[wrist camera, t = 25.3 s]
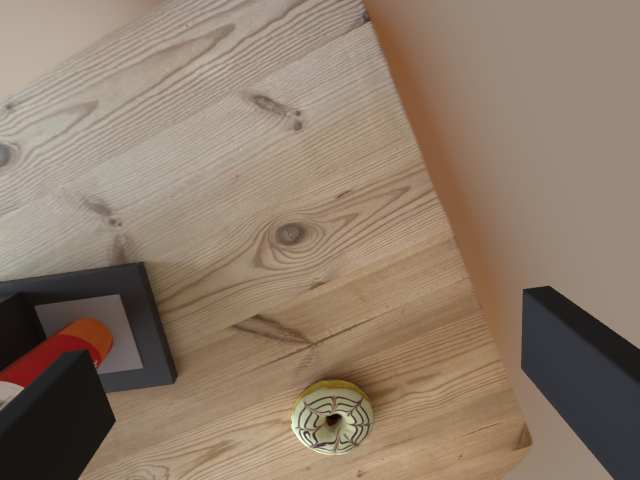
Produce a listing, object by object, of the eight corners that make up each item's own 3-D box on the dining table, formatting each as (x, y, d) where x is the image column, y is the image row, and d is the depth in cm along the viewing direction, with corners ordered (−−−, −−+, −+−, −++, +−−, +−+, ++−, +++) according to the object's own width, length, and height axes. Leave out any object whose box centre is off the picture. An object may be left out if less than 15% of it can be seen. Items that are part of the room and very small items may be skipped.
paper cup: (72, 371, 46) (-26, 473, 33) (45, 316, 44) (-73, 402, 30) (133, 358, 46) (58, 456, 32) (108, 303, 43) (18, 383, 30)
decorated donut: (294, 439, 52) (293, 463, 48) (290, 373, 49) (288, 394, 45) (370, 437, 52) (374, 460, 48) (371, 371, 49) (375, 391, 45)
